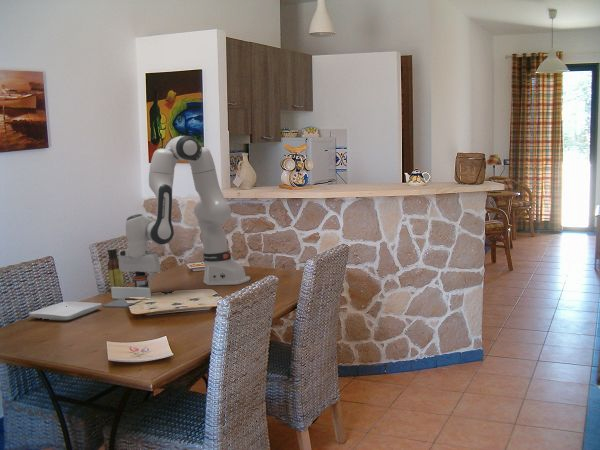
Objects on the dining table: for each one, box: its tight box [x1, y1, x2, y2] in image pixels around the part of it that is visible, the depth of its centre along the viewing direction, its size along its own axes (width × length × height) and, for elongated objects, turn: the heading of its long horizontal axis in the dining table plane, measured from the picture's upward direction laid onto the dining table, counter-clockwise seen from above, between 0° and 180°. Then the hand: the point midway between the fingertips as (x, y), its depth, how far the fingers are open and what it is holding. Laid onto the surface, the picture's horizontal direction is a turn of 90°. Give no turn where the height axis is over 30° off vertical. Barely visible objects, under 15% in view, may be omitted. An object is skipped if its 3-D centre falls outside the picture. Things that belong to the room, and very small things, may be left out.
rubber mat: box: [101, 299, 134, 309], centre depth 312 cm, size 12×12×1 cm
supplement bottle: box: [133, 271, 150, 288], centre depth 326 cm, size 6×6×11 cm
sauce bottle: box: [107, 247, 125, 288], centre depth 341 cm, size 6×6×20 cm
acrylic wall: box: [110, 286, 152, 300], centre depth 321 cm, size 20×1×5 cm, turn 66°
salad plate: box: [28, 301, 103, 322], centre depth 299 cm, size 21×21×3 cm
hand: (141, 281), depth 326 cm, fingers open, 8 cm apart
